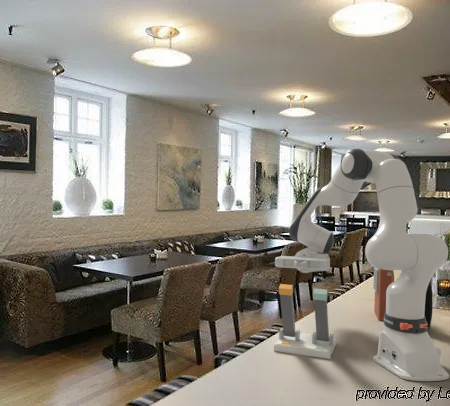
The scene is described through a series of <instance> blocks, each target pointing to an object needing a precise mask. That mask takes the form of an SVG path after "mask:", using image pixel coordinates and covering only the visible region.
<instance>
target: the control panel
mask: <svg viewBox="0 0 450 406" xmlns="http://www.w3.org/2000/svg"><path fill="white" fill-rule="evenodd" d="M394 281H395V270H383V269H378V268H374V267H373V288H372V289H373V290H374V314H375V316H376V319H377V320H378V321H382V322H384V313H385V312H386V291H387V288H388V286H389V285H390V284H391V283H393V282H394Z"/></svg>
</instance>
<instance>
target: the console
mask: <svg viewBox="0 0 450 406" xmlns="http://www.w3.org/2000/svg"><path fill="white" fill-rule="evenodd" d="M278 332H279V333H278V334H279V335H278V337H279V338H278V339H277V341H275V343H273V351H274V352H280V353H286V354H294V355H299V356H300V355H301V356H308V357H315V358H321V359H328V360H331V357H332V355H333V353H334V350H335V347H336V345H337V337H334V333H331V334H329V341H328V342H326V341H318V340H317V339H316V338H317V335H316V331H313V333H312V334H309V333H301V330H300V329H296V330H295V337H289V336H284V335H283V327H281V328H280V329H279V331H278Z"/></svg>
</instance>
